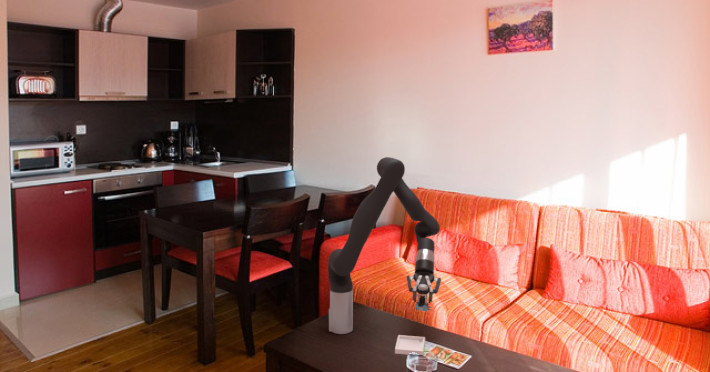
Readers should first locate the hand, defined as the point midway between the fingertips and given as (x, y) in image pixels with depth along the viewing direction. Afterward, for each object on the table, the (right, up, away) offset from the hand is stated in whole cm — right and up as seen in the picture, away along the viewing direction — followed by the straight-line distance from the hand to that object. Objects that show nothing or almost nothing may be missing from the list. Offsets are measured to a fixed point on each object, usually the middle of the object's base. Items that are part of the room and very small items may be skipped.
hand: (422, 301), depth 208 cm
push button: (+1, -4, +3) cm, 5 cm away
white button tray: (-5, -16, -4) cm, 18 cm away
